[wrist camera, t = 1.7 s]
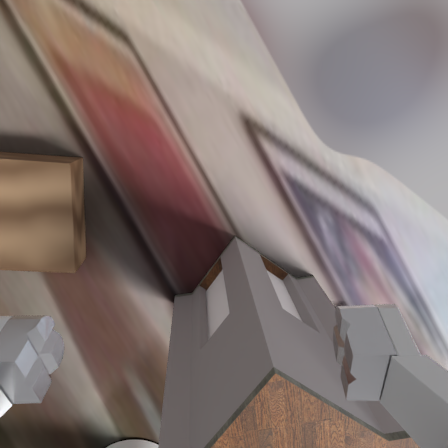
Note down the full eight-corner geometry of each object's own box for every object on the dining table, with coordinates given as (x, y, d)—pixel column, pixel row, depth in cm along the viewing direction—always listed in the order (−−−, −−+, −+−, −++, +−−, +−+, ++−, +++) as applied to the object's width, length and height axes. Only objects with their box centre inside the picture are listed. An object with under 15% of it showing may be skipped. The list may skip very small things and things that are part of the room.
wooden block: (86, 257, 51) (75, 273, 47) (-19, 252, 50) (-42, 268, 45) (82, 157, 47) (70, 163, 42) (-33, 149, 46) (-59, 154, 41)
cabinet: (176, 304, 55) (158, 493, 28) (165, 245, 52) (133, 394, 25) (313, 284, 55) (420, 450, 29) (310, 225, 52) (428, 350, 26)
